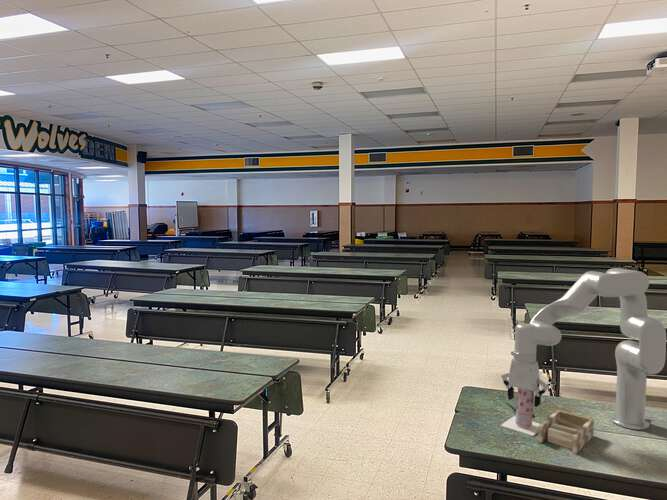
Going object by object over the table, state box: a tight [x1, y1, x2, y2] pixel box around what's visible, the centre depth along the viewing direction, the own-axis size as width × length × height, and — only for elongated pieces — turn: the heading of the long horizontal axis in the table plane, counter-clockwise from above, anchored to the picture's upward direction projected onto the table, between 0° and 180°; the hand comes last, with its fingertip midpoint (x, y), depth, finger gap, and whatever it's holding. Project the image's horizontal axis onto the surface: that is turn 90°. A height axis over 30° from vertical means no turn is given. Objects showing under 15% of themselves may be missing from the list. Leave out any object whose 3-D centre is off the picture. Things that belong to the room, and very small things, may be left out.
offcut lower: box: [547, 436, 573, 450], centre depth 164 cm, size 6×8×2 cm
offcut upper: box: [548, 423, 577, 443], centre depth 164 cm, size 6×8×2 cm
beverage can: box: [515, 387, 535, 428], centre depth 175 cm, size 6×6×15 cm
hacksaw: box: [506, 401, 535, 418], centre depth 196 cm, size 24×10×2 cm, turn 1°
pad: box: [500, 415, 541, 438], centre depth 176 cm, size 12×12×1 cm
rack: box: [537, 409, 595, 455], centre depth 166 cm, size 19×12×6 cm, turn 136°
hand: (523, 402), depth 176 cm, fingers open, 9 cm apart
